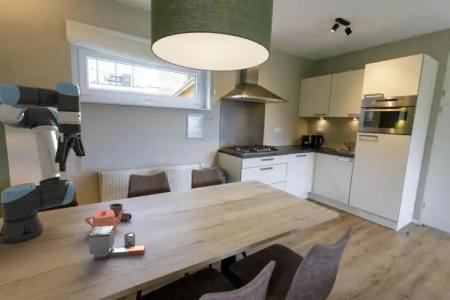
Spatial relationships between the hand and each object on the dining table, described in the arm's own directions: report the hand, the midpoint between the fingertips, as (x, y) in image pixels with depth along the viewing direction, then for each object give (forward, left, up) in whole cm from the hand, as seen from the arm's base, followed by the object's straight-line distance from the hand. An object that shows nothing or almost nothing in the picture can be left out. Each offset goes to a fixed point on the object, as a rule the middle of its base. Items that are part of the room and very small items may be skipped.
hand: (72, 175), depth 91 cm
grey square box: (+13, -8, -29) cm, 32 cm away
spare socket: (+22, -1, -32) cm, 39 cm away
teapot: (+8, +14, -32) cm, 36 cm away
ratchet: (+19, -8, -32) cm, 38 cm away
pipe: (+12, +26, -32) cm, 43 cm away
